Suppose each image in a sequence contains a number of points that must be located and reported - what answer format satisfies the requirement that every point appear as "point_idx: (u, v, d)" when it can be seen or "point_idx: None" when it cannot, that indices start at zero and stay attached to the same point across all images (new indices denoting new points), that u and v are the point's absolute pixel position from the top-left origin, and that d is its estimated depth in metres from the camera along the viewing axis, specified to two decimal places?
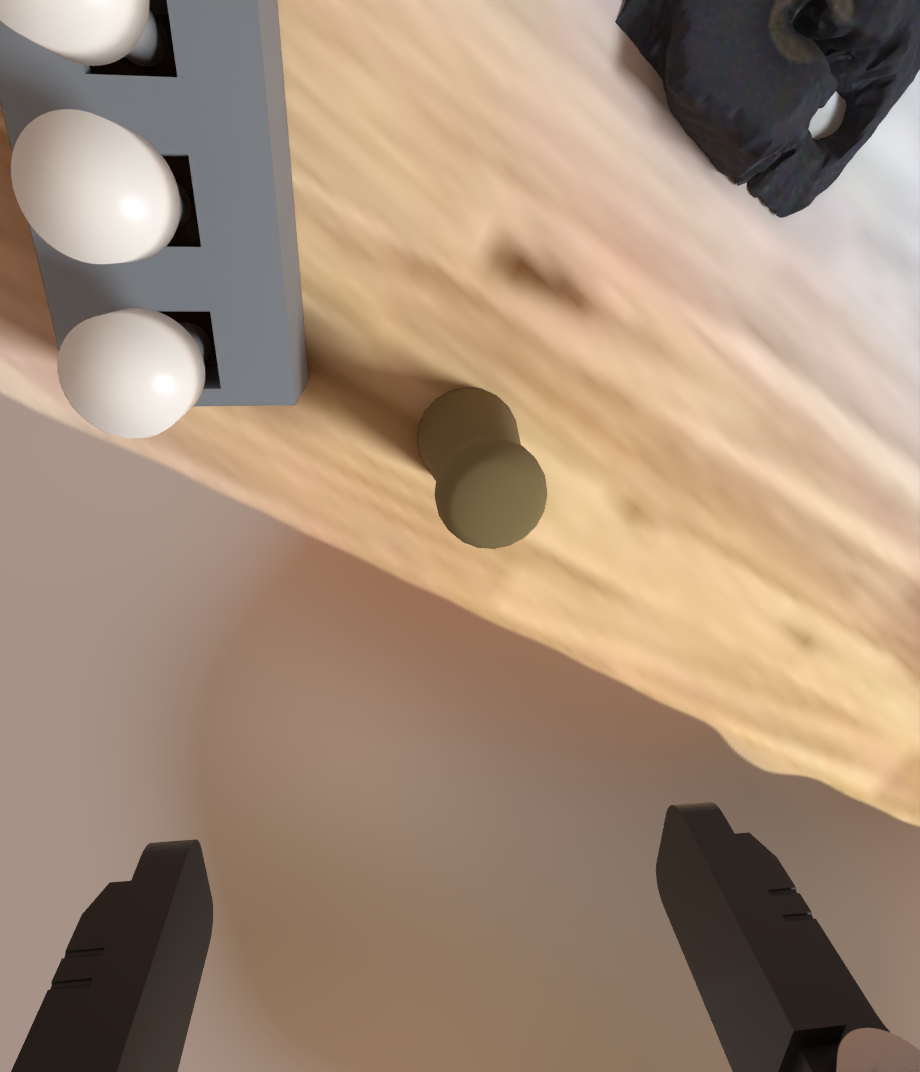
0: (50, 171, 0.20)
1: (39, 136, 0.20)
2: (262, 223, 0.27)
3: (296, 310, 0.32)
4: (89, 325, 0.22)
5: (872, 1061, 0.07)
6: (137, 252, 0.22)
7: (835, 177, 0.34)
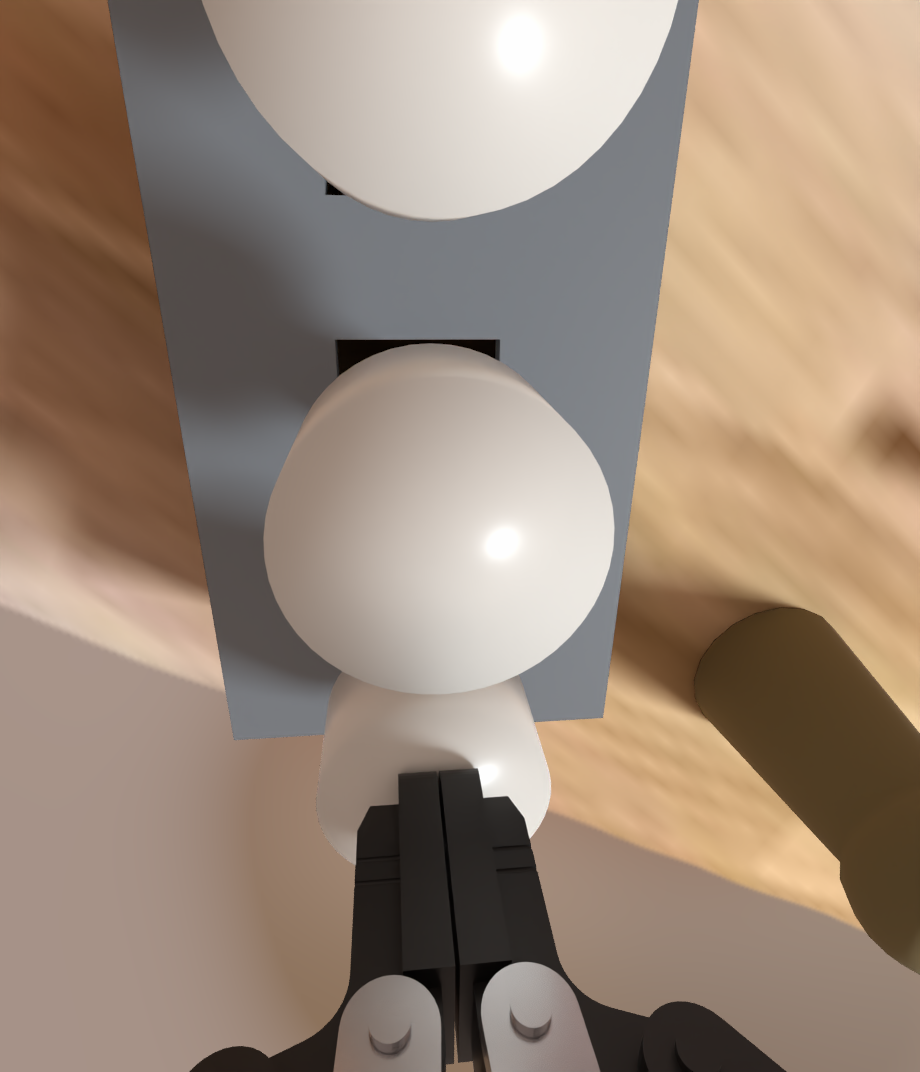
0: (364, 519, 0.08)
1: (351, 442, 0.07)
2: (610, 450, 0.15)
3: None
4: (390, 727, 0.11)
5: (515, 989, 0.08)
6: (527, 662, 0.09)
7: None
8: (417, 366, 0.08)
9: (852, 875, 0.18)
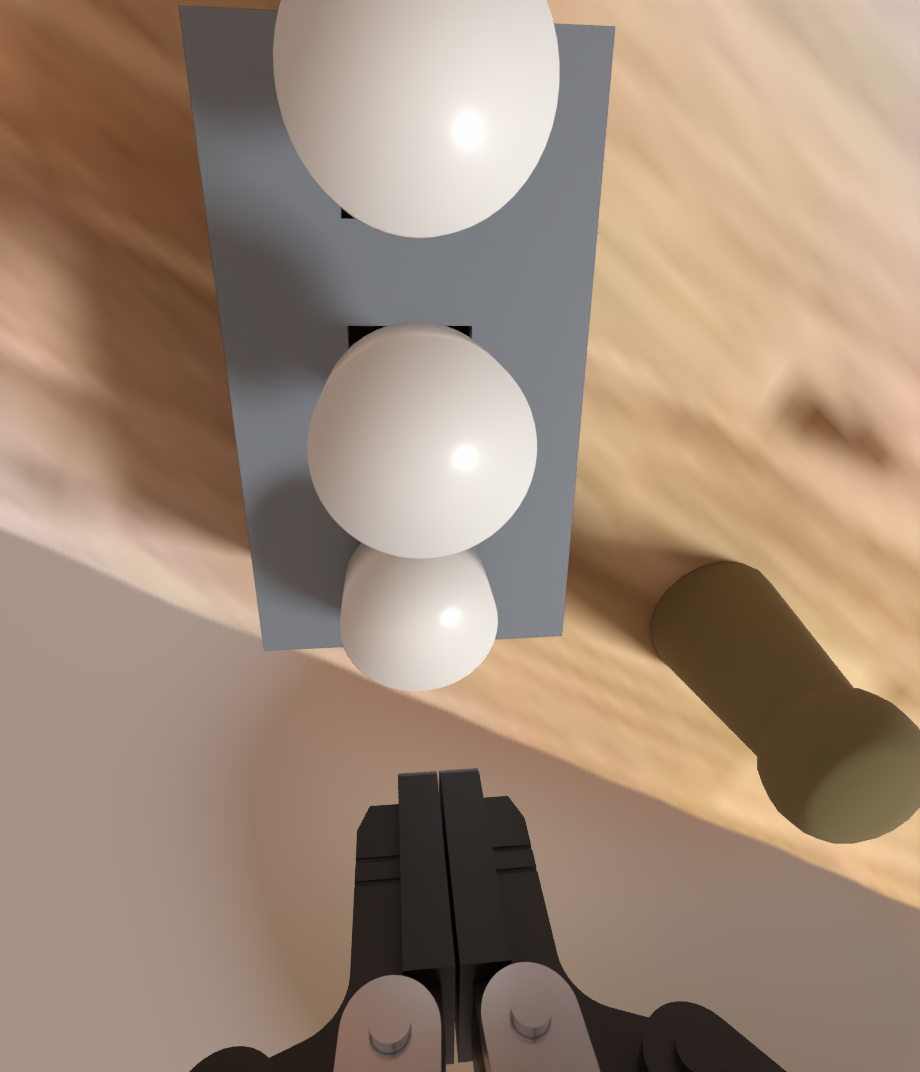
0: (372, 430, 0.12)
1: (364, 378, 0.12)
2: (559, 413, 0.19)
3: None
4: (389, 569, 0.17)
5: (515, 989, 0.08)
6: (483, 537, 0.13)
7: None
8: (406, 332, 0.12)
9: (763, 761, 0.22)
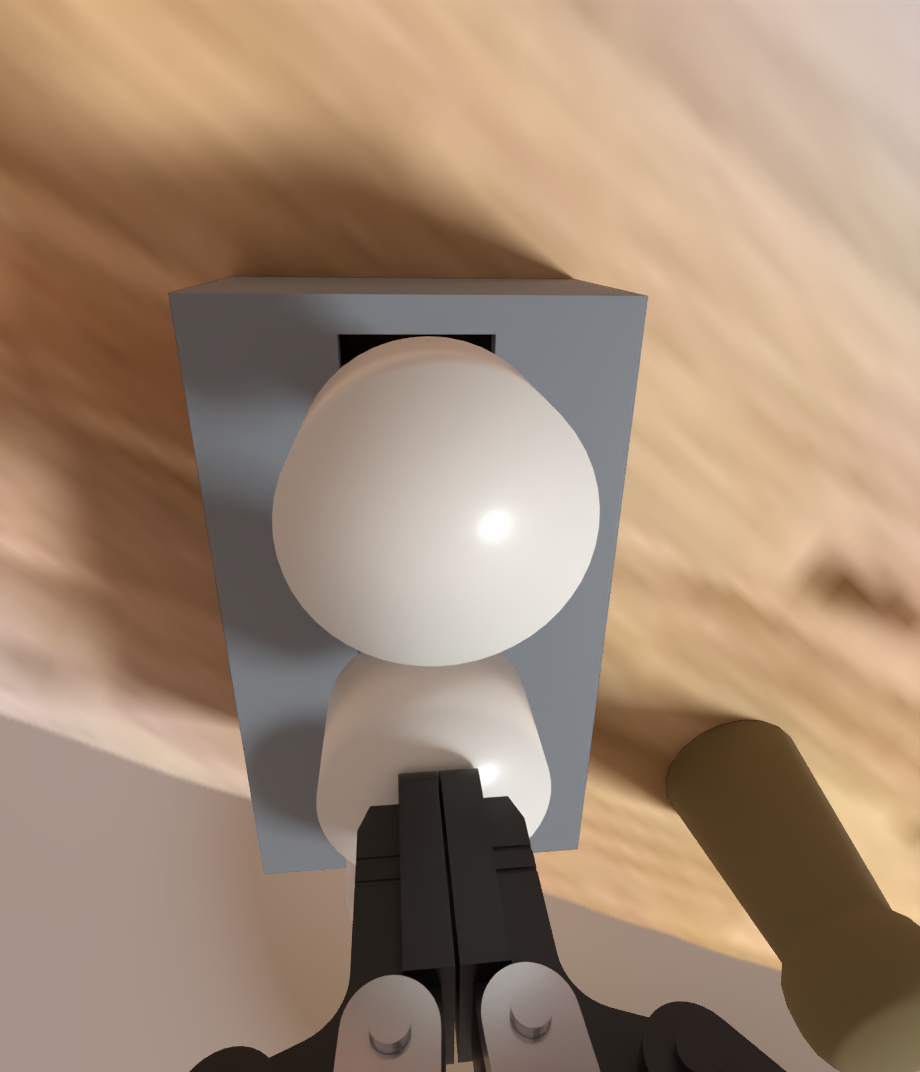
0: (382, 785, 0.12)
1: (375, 744, 0.11)
2: (579, 652, 0.18)
3: None
4: None
5: (515, 990, 0.08)
6: None
7: None
8: (418, 682, 0.12)
9: (789, 986, 0.21)
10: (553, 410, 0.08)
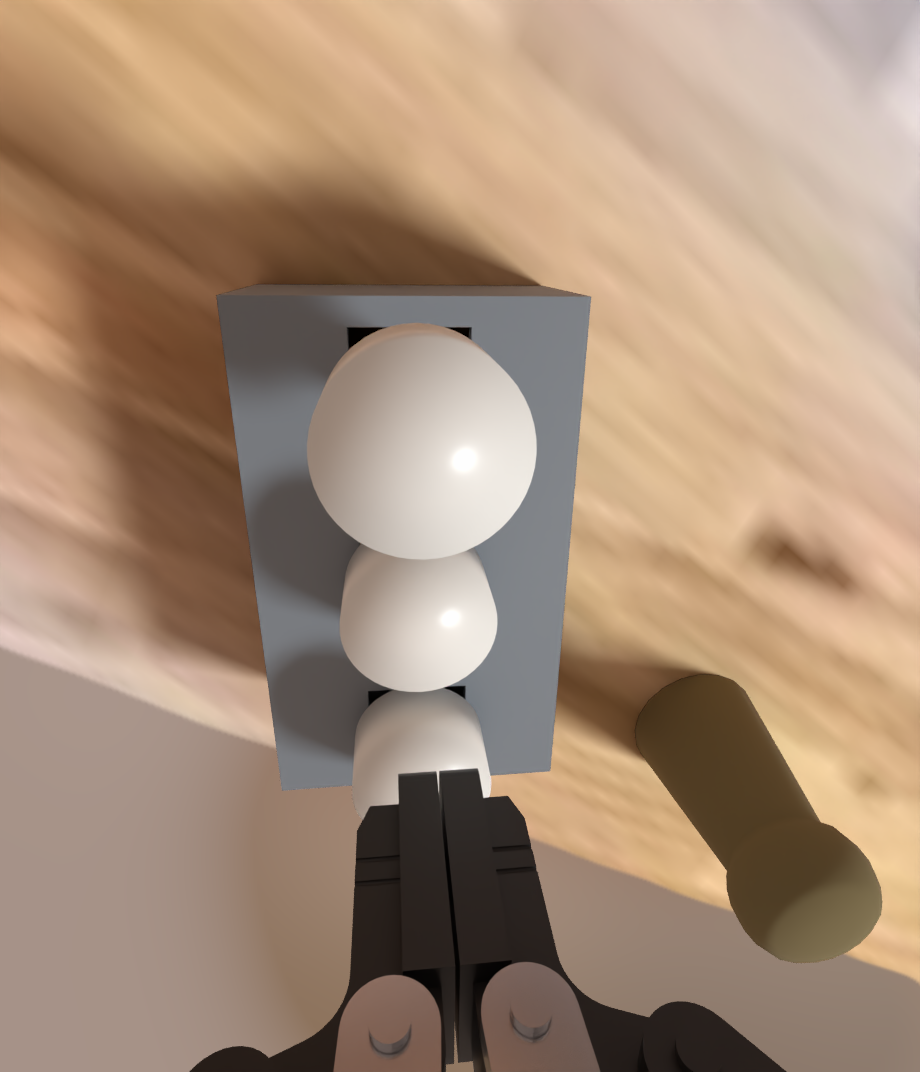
0: (383, 613, 0.18)
1: (378, 582, 0.17)
2: (546, 593, 0.22)
3: None
4: (395, 747, 0.20)
5: (515, 989, 0.08)
6: (461, 676, 0.19)
7: None
8: None
9: (731, 886, 0.24)
10: (500, 369, 0.12)
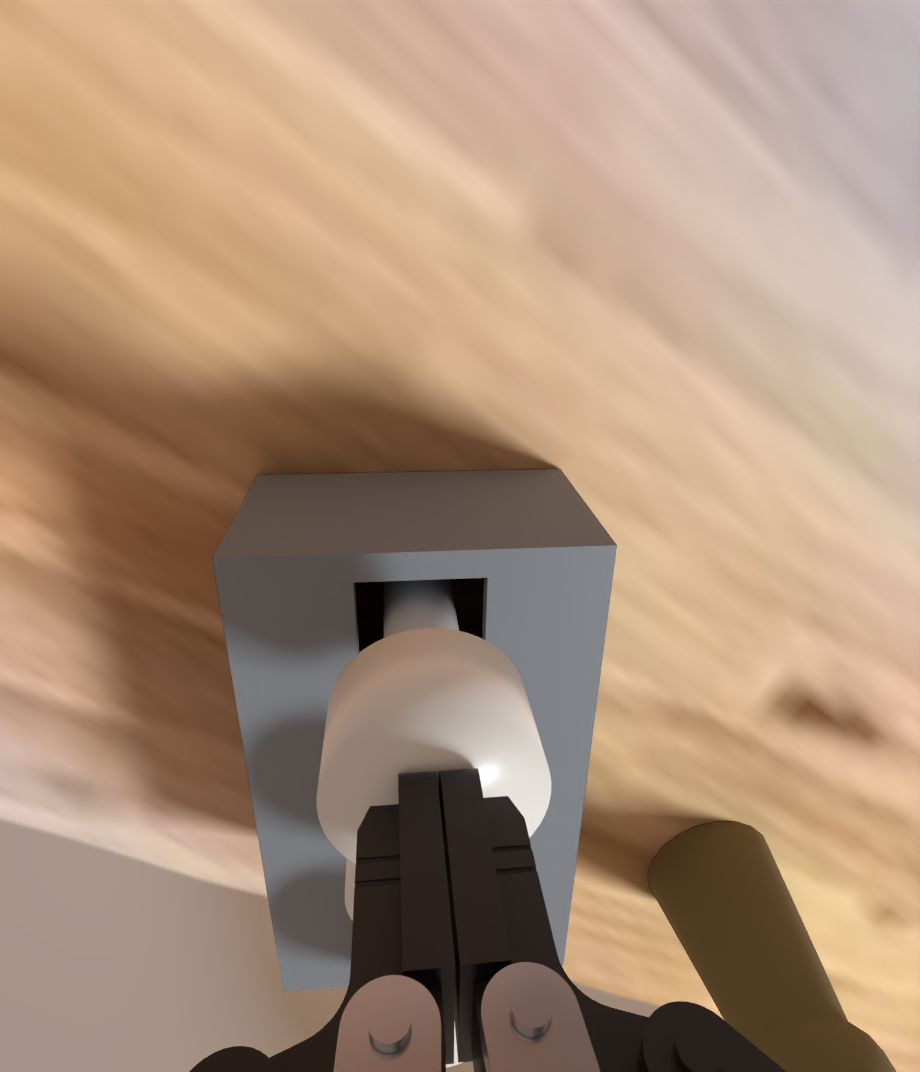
0: None
1: None
2: (562, 811, 0.20)
3: None
4: None
5: (515, 990, 0.08)
6: None
7: None
8: None
9: None
10: (516, 727, 0.12)
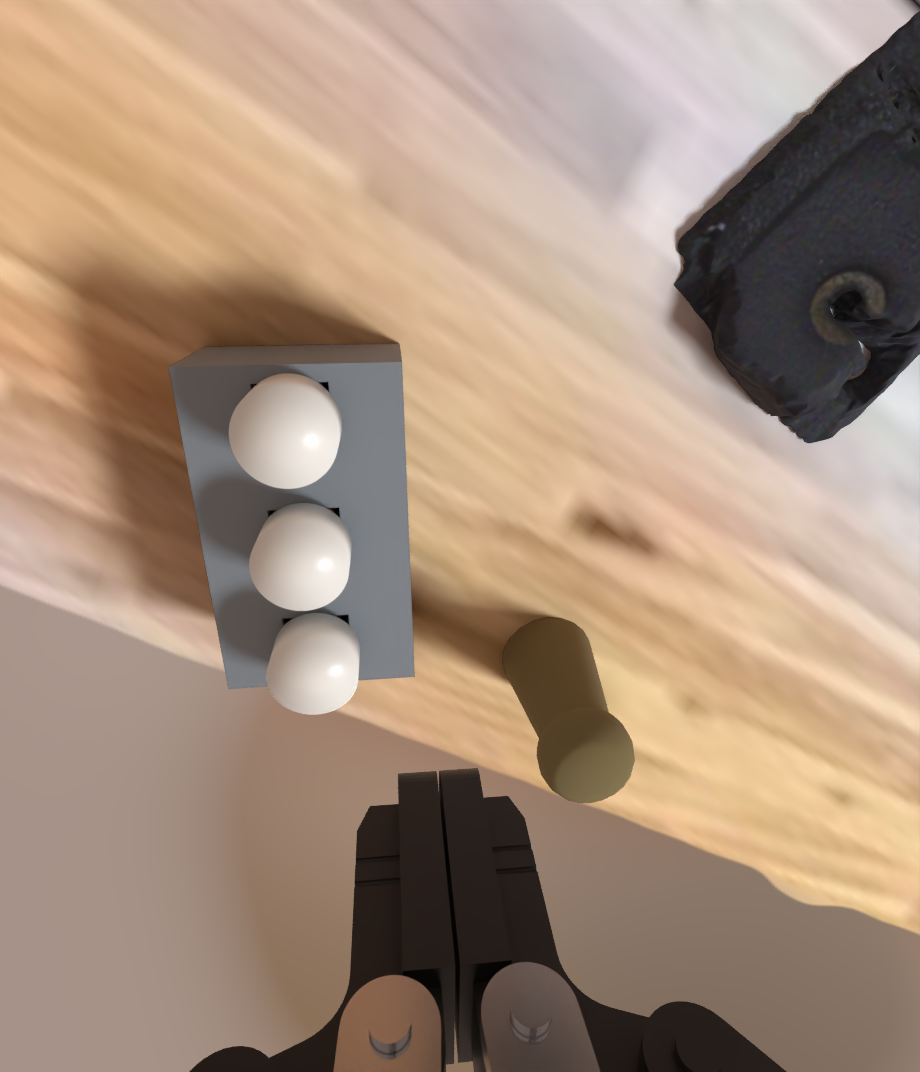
0: (276, 559, 0.29)
1: (271, 540, 0.28)
2: (396, 550, 0.33)
3: None
4: (292, 647, 0.31)
5: (515, 990, 0.08)
6: (330, 601, 0.30)
7: (858, 415, 0.38)
8: (290, 517, 0.29)
9: (537, 753, 0.35)
10: (316, 397, 0.26)
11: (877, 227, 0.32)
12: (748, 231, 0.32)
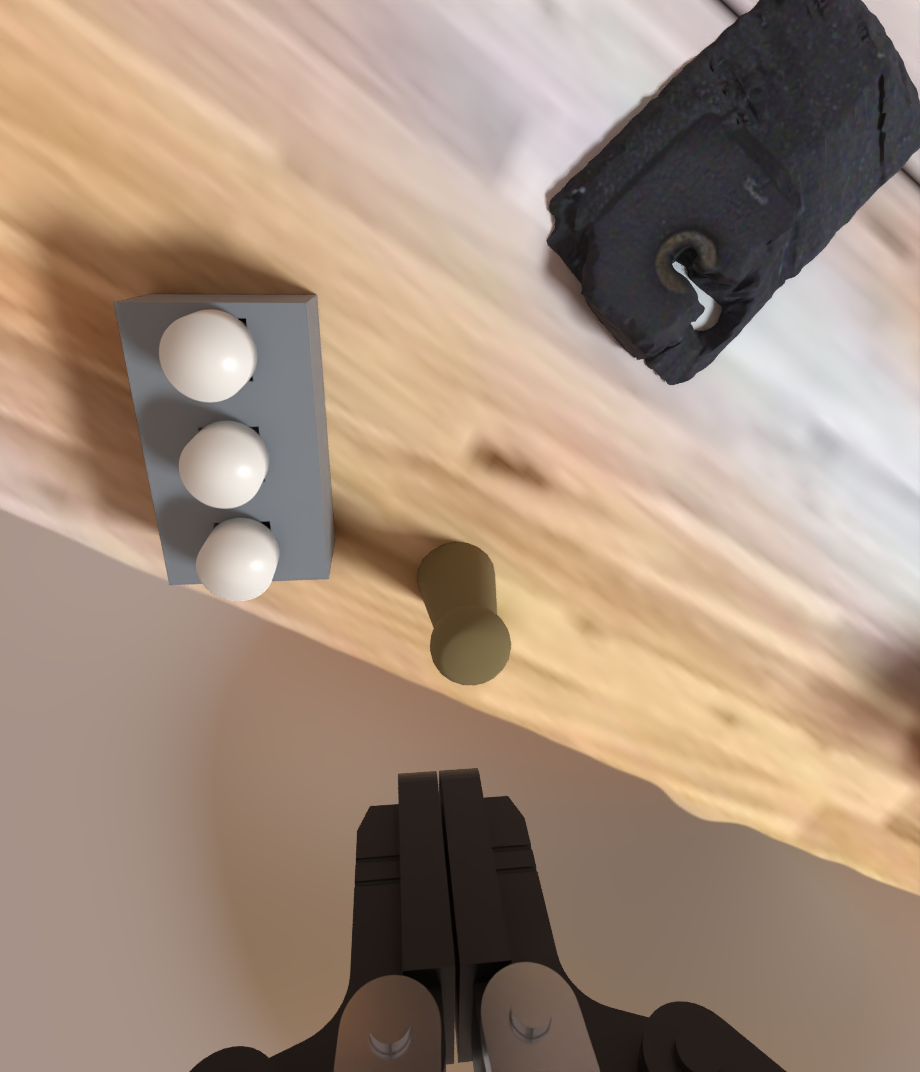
0: (201, 463, 0.35)
1: (196, 446, 0.35)
2: (308, 465, 0.39)
3: (328, 503, 0.44)
4: (216, 540, 0.37)
5: (515, 990, 0.08)
6: (247, 501, 0.37)
7: (711, 361, 0.44)
8: (213, 428, 0.35)
9: (430, 643, 0.42)
10: (229, 326, 0.33)
11: (708, 194, 0.38)
12: (604, 194, 0.39)
